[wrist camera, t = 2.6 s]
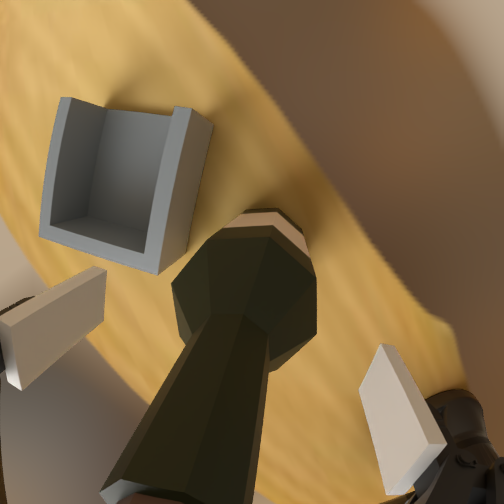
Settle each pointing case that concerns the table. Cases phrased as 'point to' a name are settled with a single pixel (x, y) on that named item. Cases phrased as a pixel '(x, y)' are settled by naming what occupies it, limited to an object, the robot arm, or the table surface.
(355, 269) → the table surface
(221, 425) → the wine bottle
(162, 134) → the bottle stand
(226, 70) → the table surface
